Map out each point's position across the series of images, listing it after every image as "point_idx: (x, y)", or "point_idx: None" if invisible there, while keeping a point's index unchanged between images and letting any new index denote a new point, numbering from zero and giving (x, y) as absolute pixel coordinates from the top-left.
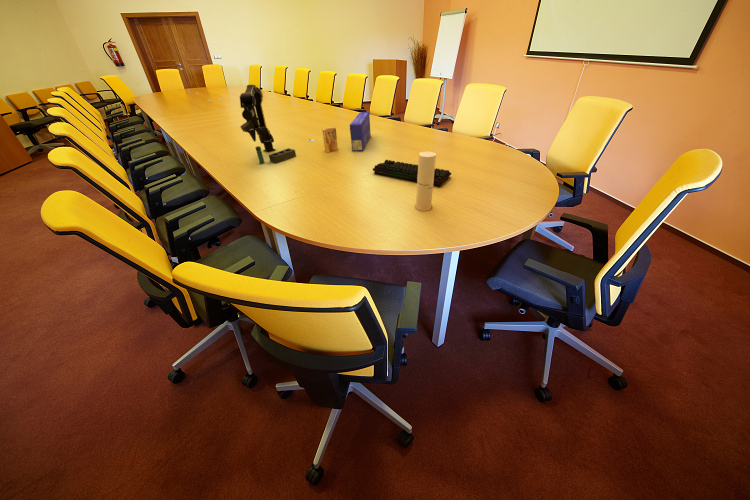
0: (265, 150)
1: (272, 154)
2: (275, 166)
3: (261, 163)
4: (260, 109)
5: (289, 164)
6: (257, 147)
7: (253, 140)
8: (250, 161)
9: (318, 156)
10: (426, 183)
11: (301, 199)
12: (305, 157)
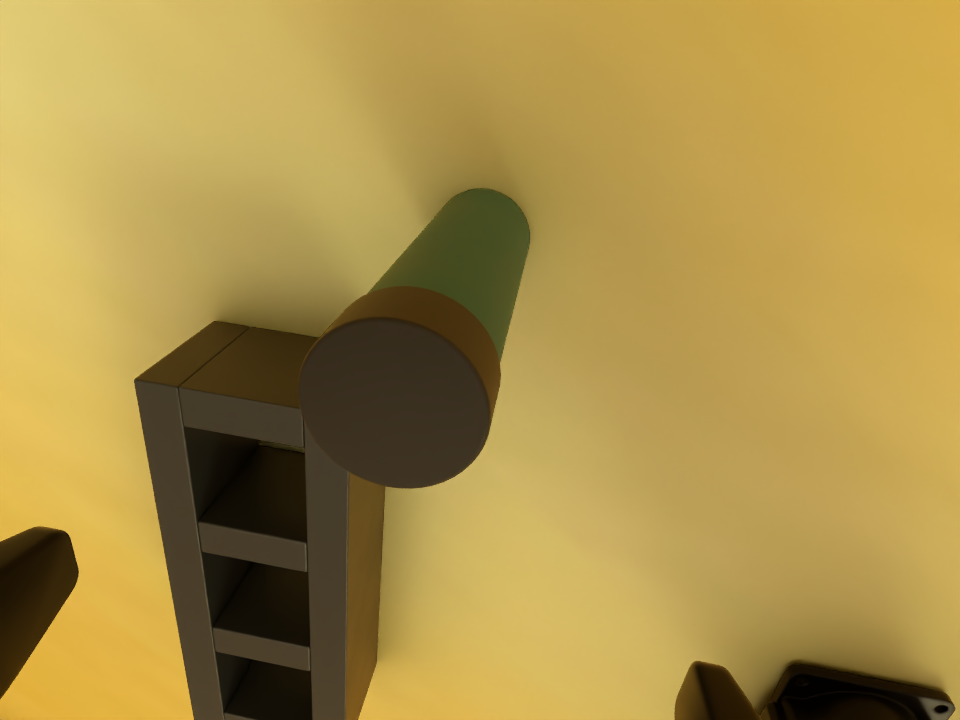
0: (893, 702)
1: (305, 469)
2: (88, 201)
3: (455, 197)
4: None
5: (7, 369)
6: (344, 360)
7: (745, 706)
8: (824, 193)
9: (22, 683)
10: None
11: None
12: (106, 630)
